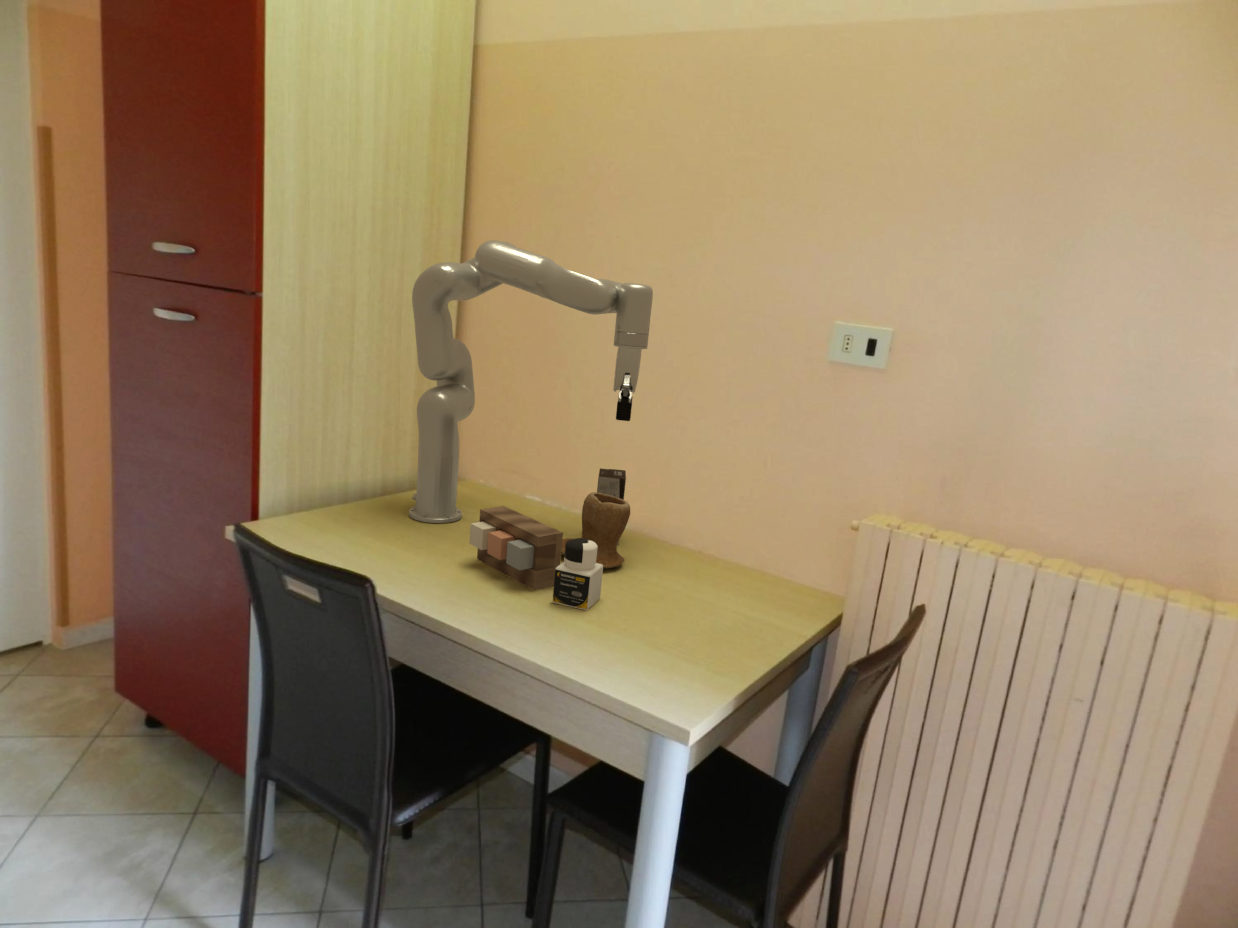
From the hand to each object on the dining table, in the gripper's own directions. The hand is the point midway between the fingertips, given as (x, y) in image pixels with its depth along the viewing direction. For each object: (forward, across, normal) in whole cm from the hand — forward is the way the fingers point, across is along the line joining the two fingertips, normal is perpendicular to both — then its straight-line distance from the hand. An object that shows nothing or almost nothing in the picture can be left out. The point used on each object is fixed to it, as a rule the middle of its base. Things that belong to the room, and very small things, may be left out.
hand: (623, 416), depth 192 cm
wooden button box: (+30, +24, -18) cm, 43 cm away
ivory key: (+26, +23, -26) cm, 43 cm away
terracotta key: (+26, +27, -21) cm, 43 cm away
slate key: (+26, +32, -17) cm, 44 cm away
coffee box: (+30, -4, -1) cm, 31 cm away
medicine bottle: (+30, +37, -5) cm, 48 cm away
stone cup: (+30, +13, -4) cm, 33 cm away
